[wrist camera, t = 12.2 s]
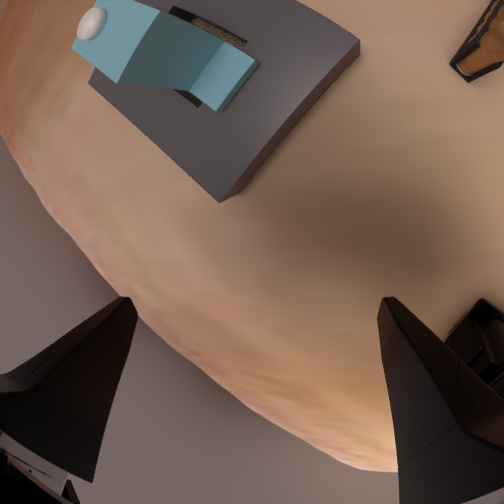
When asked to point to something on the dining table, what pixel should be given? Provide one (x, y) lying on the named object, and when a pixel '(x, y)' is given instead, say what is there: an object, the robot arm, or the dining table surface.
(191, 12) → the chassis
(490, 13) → the ammunition clip
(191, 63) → the servo
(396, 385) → the robot arm
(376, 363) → the dining table surface
